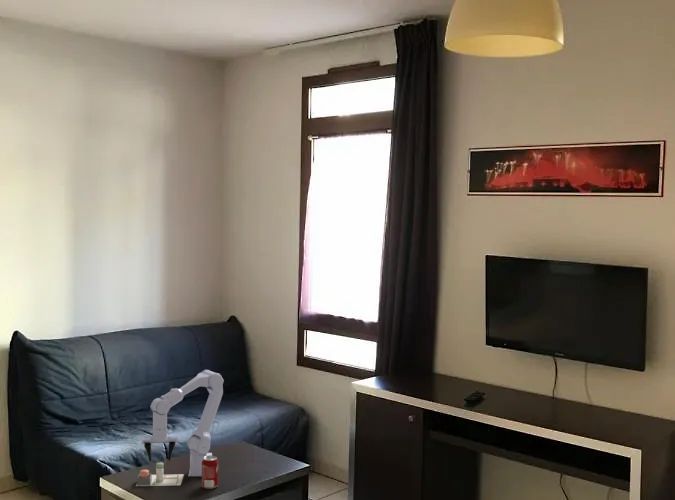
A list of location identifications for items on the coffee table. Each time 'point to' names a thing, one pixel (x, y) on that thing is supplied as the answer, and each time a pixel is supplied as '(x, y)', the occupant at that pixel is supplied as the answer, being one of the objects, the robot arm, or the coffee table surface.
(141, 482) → the button base
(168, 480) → the sheet
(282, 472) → the coffee table surface
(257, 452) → the coffee table surface
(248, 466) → the coffee table surface
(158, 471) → the marker
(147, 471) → the button
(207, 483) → the soda can
